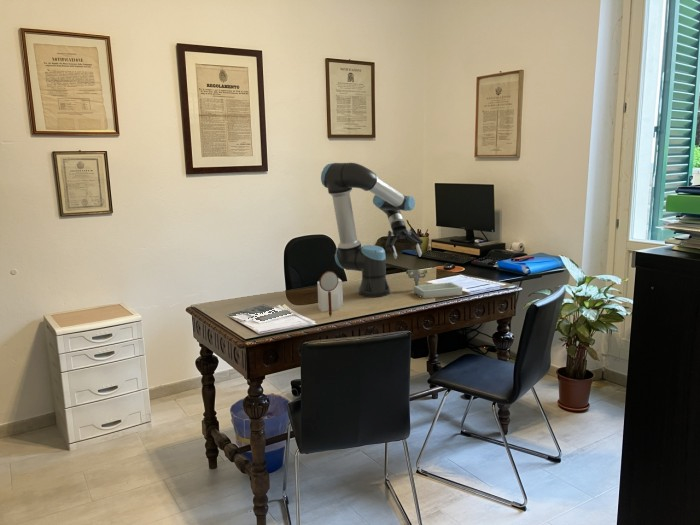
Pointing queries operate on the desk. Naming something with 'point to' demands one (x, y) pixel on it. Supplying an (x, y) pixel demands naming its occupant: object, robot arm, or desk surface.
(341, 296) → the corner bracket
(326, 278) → the magnifying glass
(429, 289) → the keeper cradle
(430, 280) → the desk surface
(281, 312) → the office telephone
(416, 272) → the mechanical component
